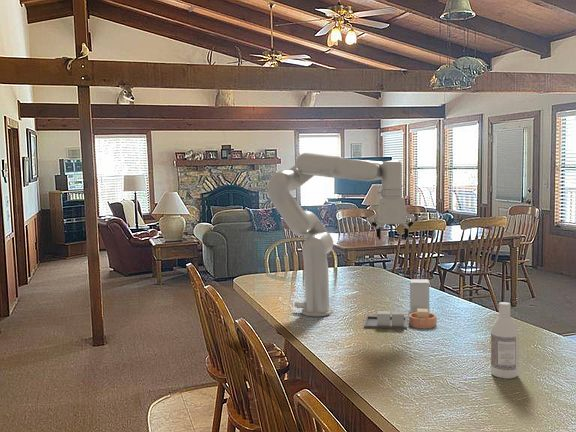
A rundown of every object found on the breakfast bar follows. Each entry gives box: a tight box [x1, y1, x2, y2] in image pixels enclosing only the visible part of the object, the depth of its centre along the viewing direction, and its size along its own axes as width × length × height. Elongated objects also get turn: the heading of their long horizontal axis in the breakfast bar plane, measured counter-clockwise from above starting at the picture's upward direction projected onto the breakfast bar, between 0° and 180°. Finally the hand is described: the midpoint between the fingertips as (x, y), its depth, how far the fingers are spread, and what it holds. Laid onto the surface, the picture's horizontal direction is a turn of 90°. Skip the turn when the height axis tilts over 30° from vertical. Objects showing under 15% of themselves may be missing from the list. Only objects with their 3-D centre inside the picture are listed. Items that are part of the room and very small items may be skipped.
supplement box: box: [409, 278, 430, 314], centre depth 219 cm, size 7×7×13 cm
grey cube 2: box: [391, 311, 405, 326], centre depth 199 cm, size 4×4×5 cm
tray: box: [363, 315, 408, 330], centre depth 204 cm, size 15×13×1 cm
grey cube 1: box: [376, 310, 391, 326], centre depth 201 cm, size 4×4×5 cm
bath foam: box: [490, 301, 519, 380], centre depth 152 cm, size 7×7×20 cm
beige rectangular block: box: [417, 309, 428, 319], centre depth 202 cm, size 4×4×5 cm
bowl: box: [408, 312, 438, 329], centre depth 202 cm, size 10×10×4 cm
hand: (392, 239), depth 210 cm, fingers open, 9 cm apart
